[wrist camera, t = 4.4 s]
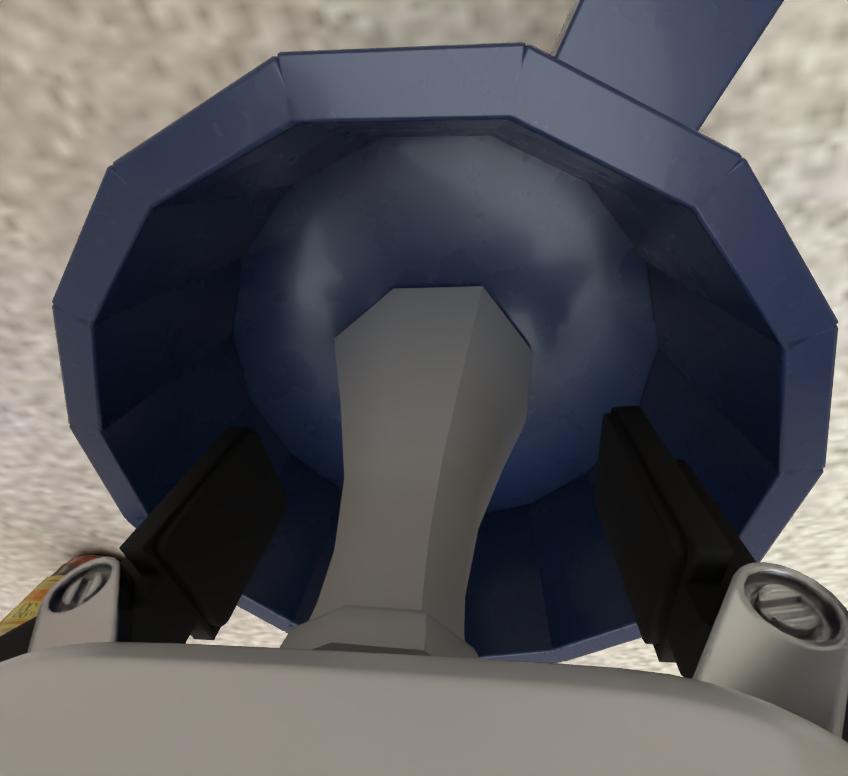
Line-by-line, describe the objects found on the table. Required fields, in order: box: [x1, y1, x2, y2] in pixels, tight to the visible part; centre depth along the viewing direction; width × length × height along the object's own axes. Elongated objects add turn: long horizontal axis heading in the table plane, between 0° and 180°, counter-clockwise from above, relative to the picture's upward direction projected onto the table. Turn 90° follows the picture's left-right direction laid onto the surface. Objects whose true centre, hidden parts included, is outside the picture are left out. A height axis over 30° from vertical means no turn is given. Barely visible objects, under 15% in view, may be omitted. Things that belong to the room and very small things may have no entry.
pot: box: [52, 0, 838, 663], centre depth 12 cm, size 17×22×6 cm
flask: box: [280, 286, 532, 659], centre depth 10 cm, size 7×7×10 cm
